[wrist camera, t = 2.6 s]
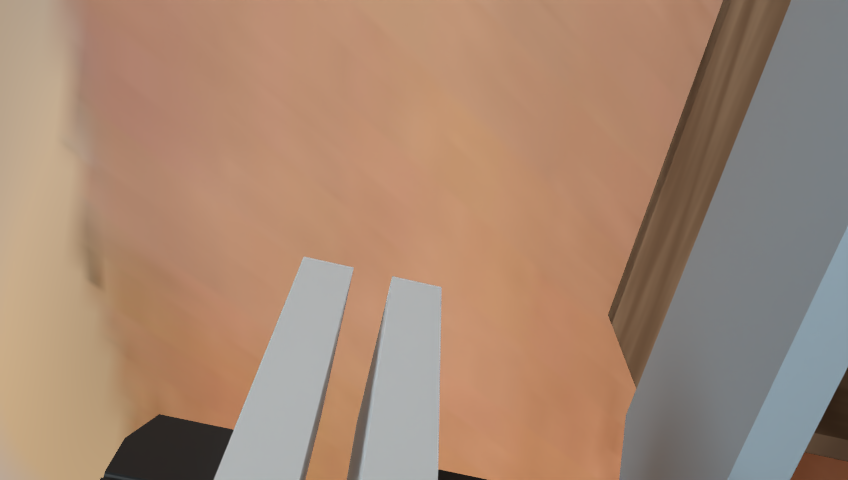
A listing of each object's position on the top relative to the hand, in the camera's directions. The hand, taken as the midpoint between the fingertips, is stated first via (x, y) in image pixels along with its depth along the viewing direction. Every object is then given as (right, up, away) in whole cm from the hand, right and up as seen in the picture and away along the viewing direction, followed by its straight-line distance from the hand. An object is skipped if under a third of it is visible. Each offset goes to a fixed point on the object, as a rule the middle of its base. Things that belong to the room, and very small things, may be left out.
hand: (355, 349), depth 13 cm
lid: (+10, +1, +10) cm, 14 cm away
